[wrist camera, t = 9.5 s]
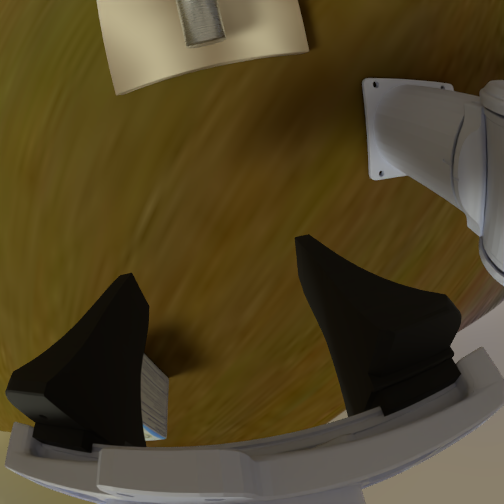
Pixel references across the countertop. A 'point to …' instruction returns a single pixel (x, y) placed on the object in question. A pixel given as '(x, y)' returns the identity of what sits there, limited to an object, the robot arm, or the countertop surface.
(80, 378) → the robot arm
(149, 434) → the medicine box
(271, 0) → the beige blocky piece
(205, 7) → the threaded rod
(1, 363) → the countertop surface
